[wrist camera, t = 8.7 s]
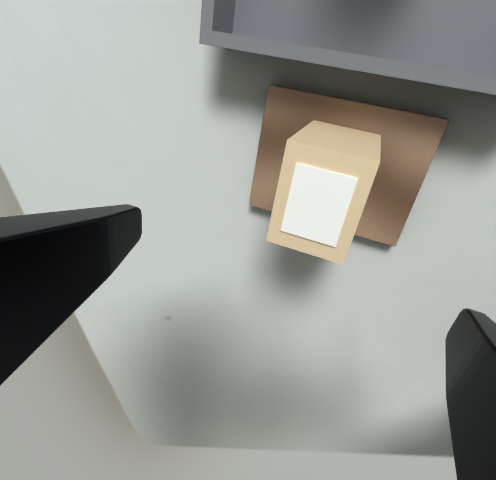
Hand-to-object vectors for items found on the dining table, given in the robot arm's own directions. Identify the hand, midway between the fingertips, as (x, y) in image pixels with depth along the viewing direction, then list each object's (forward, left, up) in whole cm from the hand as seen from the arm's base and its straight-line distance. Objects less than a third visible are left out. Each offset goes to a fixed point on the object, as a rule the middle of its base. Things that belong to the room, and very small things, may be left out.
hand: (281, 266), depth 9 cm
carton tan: (0, 0, -11) cm, 11 cm away
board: (0, 0, -12) cm, 12 cm away
